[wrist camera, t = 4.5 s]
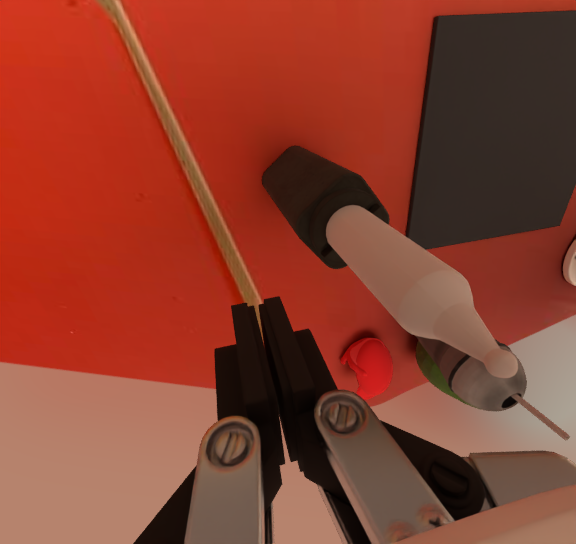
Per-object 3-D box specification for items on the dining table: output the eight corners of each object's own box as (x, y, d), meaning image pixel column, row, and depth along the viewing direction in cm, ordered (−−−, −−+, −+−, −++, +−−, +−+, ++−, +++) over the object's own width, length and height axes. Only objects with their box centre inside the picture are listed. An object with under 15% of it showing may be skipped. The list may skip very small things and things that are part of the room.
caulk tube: (256, 179, 29) (399, 393, 8) (296, 139, 28) (576, 259, 7) (291, 215, 32) (470, 451, 10) (328, 180, 31) (606, 358, 10)
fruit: (406, 321, 43) (470, 389, 33) (457, 308, 44) (533, 371, 34) (401, 362, 47) (456, 434, 37) (448, 349, 48) (513, 416, 38)
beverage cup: (383, 328, 43) (503, 480, 26) (402, 282, 40) (552, 421, 22) (427, 328, 45) (564, 469, 28) (448, 285, 42) (617, 414, 25)
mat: (637, 9, 30) (645, 7, 29) (555, 224, 41) (559, 225, 40) (434, 17, 26) (438, 15, 26) (403, 251, 37) (406, 253, 37)
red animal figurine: (341, 333, 41) (360, 366, 36) (382, 326, 42) (406, 357, 37) (336, 376, 45) (353, 411, 40) (374, 369, 46) (395, 402, 41)
